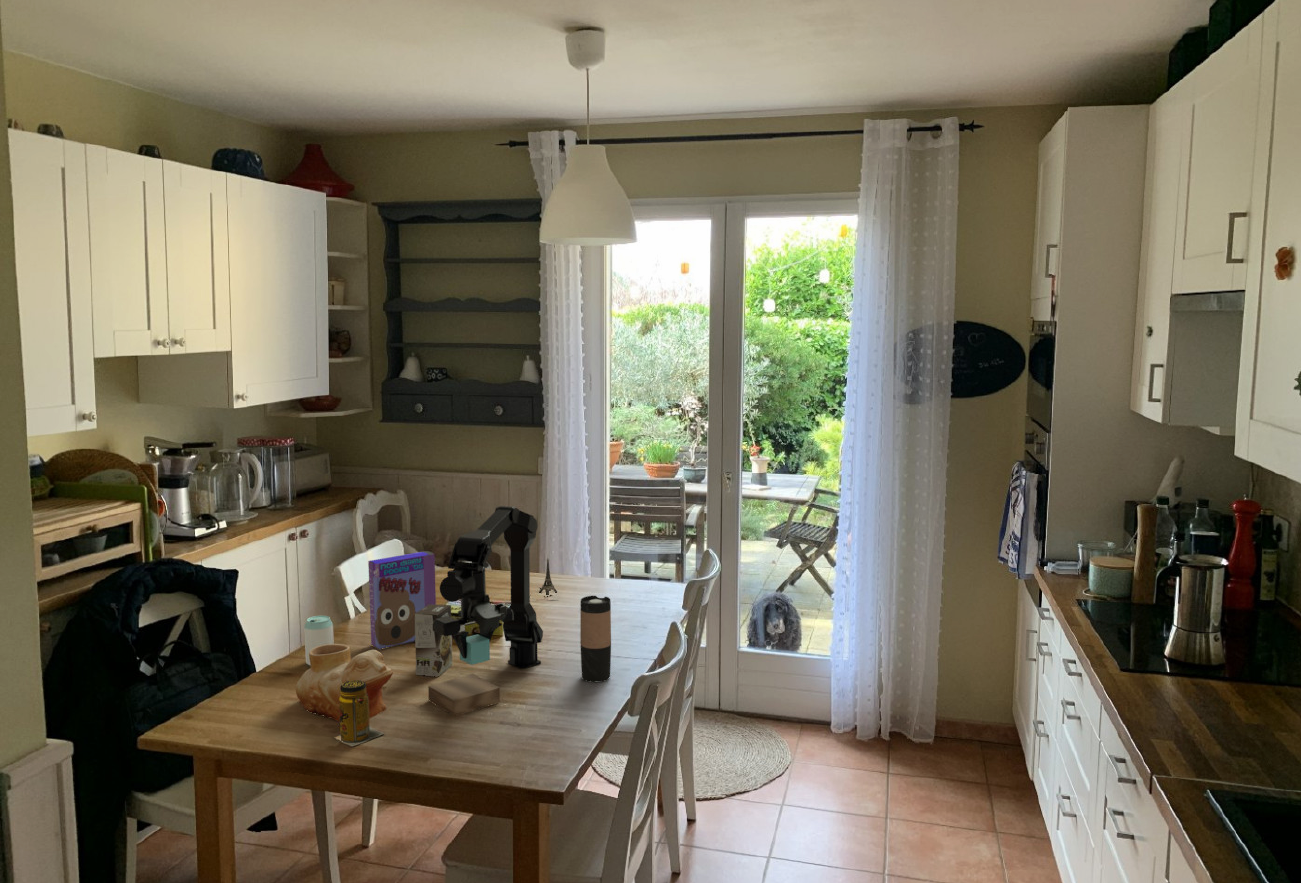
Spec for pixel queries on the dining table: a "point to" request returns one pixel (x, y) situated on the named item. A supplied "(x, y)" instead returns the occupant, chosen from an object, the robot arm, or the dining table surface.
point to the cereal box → (399, 596)
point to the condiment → (355, 714)
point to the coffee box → (432, 642)
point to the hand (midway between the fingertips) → (474, 655)
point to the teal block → (477, 650)
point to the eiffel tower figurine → (548, 582)
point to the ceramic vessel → (341, 679)
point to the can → (317, 633)
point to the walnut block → (464, 694)
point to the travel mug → (595, 638)
